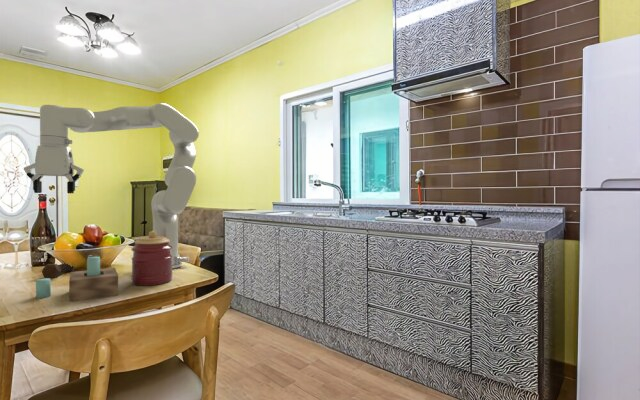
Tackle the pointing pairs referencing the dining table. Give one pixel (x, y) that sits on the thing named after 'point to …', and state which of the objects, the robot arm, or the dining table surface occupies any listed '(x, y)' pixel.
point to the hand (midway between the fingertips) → (54, 193)
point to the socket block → (93, 284)
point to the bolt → (56, 270)
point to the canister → (151, 260)
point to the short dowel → (43, 288)
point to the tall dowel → (93, 266)
